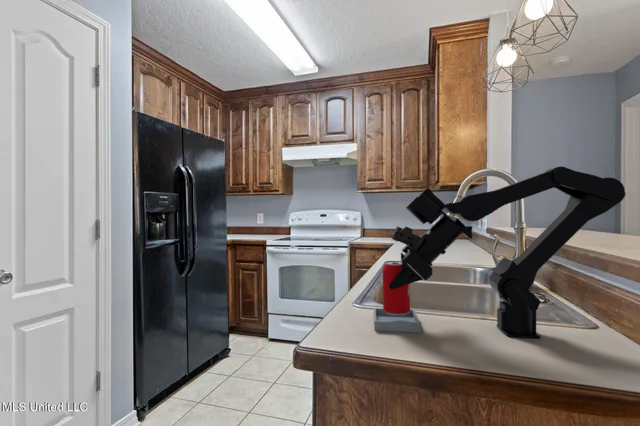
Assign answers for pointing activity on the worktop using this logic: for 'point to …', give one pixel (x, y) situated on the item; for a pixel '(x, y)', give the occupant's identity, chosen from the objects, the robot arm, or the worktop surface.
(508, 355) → the worktop surface
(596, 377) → the worktop surface
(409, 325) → the tray
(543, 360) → the worktop surface
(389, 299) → the beverage can
